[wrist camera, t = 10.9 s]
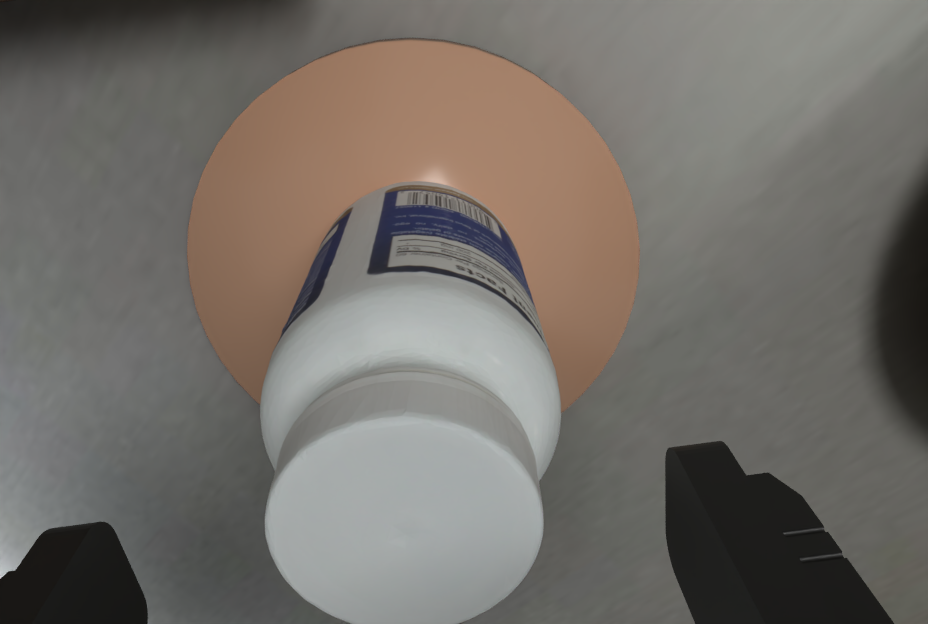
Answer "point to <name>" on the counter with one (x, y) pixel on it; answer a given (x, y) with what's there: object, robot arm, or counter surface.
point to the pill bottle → (410, 414)
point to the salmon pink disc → (405, 160)
